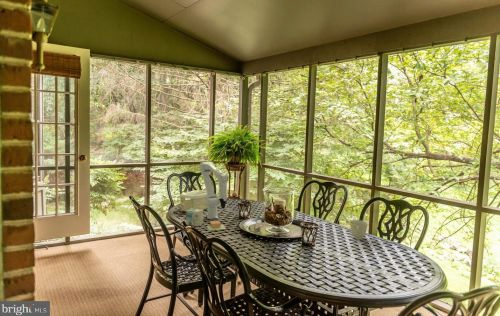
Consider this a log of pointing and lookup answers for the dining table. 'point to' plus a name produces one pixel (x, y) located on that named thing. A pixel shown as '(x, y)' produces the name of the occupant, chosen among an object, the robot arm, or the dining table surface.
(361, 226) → the teacup
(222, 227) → the mat
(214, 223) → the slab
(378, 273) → the dining table surface
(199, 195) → the storage basket
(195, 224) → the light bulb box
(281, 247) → the dining table surface
